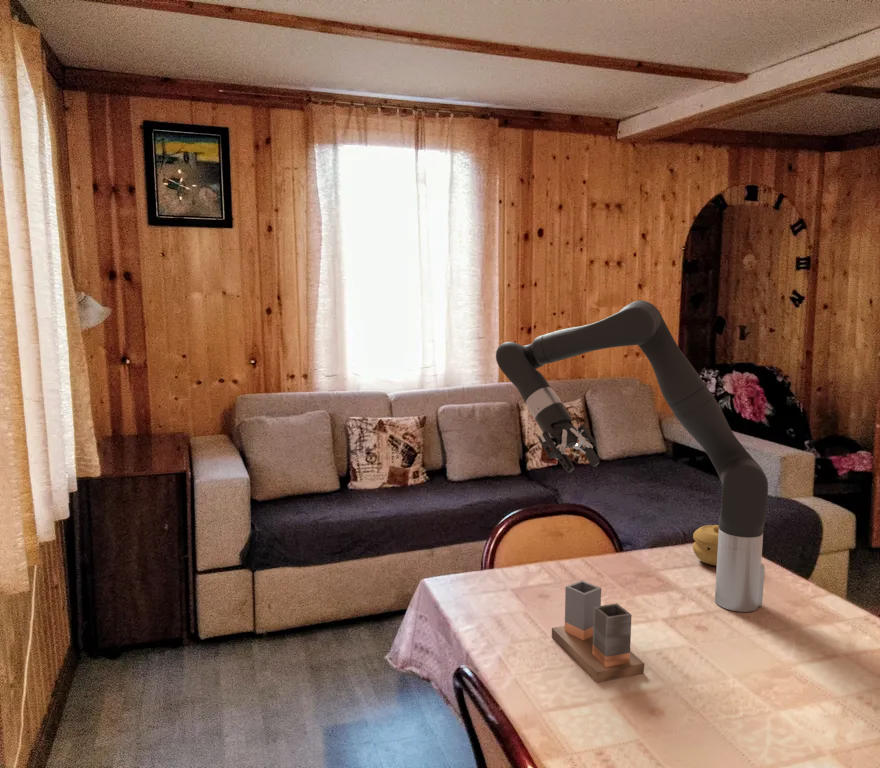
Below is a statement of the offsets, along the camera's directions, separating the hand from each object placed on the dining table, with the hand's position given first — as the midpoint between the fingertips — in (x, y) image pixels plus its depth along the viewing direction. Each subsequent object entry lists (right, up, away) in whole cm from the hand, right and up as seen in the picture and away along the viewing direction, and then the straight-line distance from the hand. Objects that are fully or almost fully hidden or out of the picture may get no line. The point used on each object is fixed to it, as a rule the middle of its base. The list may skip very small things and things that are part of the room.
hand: (584, 467), depth 166 cm
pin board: (-2, -34, -22) cm, 41 cm away
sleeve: (-4, -31, -17) cm, 36 cm away
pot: (+39, -28, +25) cm, 54 cm away
